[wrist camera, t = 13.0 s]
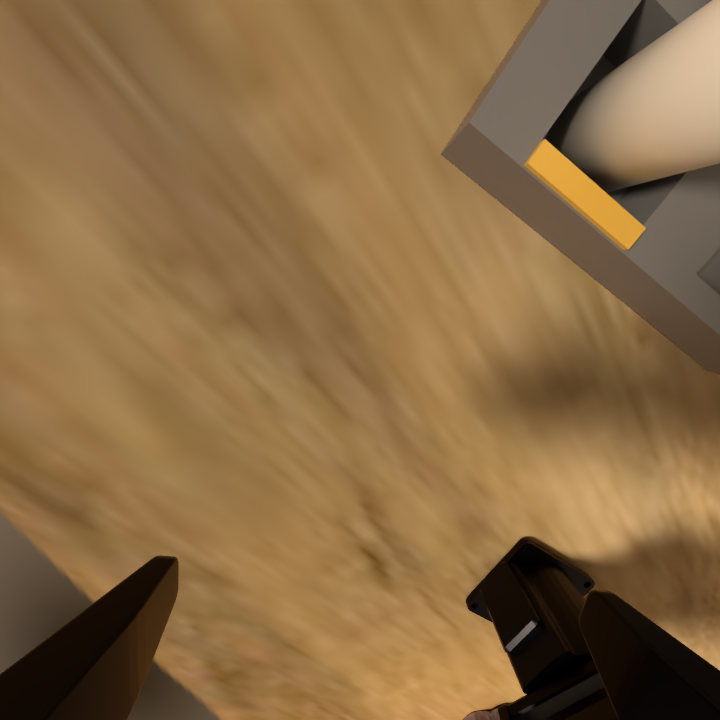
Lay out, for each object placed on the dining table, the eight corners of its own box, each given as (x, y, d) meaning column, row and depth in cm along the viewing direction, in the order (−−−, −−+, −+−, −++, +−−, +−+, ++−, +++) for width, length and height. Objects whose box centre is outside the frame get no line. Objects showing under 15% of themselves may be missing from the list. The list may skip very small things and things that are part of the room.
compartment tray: (818, 253, 19) (949, 250, 15) (707, 370, 21) (797, 397, 17) (550, -13, 15) (626, -114, 11) (440, 154, 17) (471, 119, 13)
